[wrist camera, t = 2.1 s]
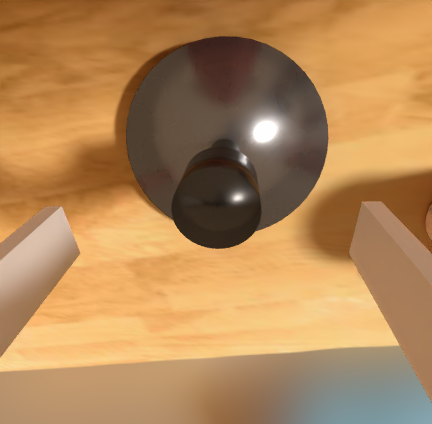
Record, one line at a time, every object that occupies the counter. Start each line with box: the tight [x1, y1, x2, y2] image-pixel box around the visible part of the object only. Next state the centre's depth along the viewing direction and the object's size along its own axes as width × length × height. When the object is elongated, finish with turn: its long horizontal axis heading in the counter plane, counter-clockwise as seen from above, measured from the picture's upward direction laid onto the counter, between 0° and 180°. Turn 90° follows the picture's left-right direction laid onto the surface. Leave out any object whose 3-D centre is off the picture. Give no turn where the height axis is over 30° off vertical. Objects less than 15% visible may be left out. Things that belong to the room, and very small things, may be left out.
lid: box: [126, 36, 328, 249], centre depth 17 cm, size 15×15×10 cm
